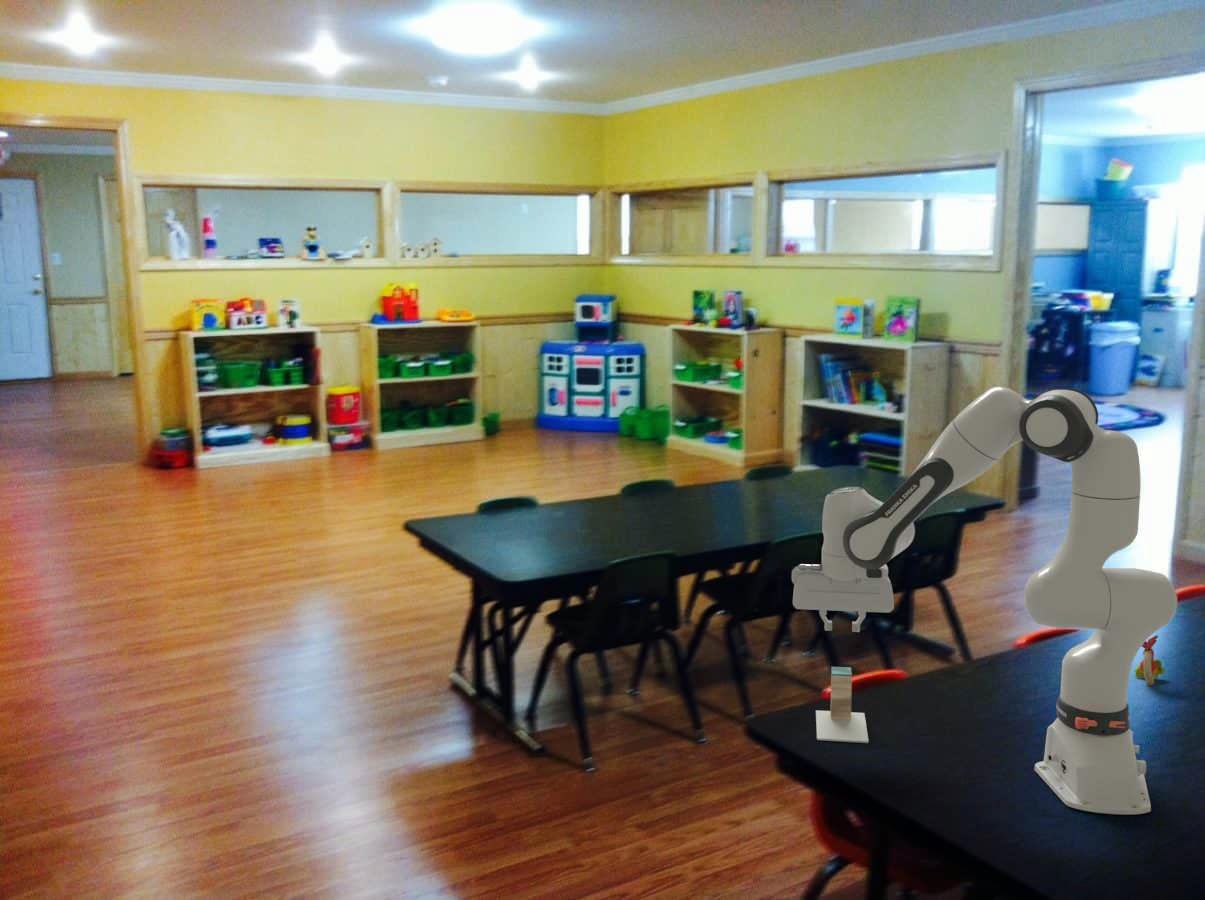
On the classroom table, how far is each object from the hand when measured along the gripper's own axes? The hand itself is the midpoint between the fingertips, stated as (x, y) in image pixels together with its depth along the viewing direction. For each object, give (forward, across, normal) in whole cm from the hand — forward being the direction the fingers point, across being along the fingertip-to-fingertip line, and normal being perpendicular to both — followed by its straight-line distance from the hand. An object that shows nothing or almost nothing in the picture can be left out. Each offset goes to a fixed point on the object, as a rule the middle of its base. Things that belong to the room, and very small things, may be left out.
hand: (842, 630), depth 224 cm
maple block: (+19, 0, 0) cm, 19 cm away
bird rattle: (+19, +69, +30) cm, 78 cm away
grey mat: (+19, 0, -4) cm, 20 cm away
